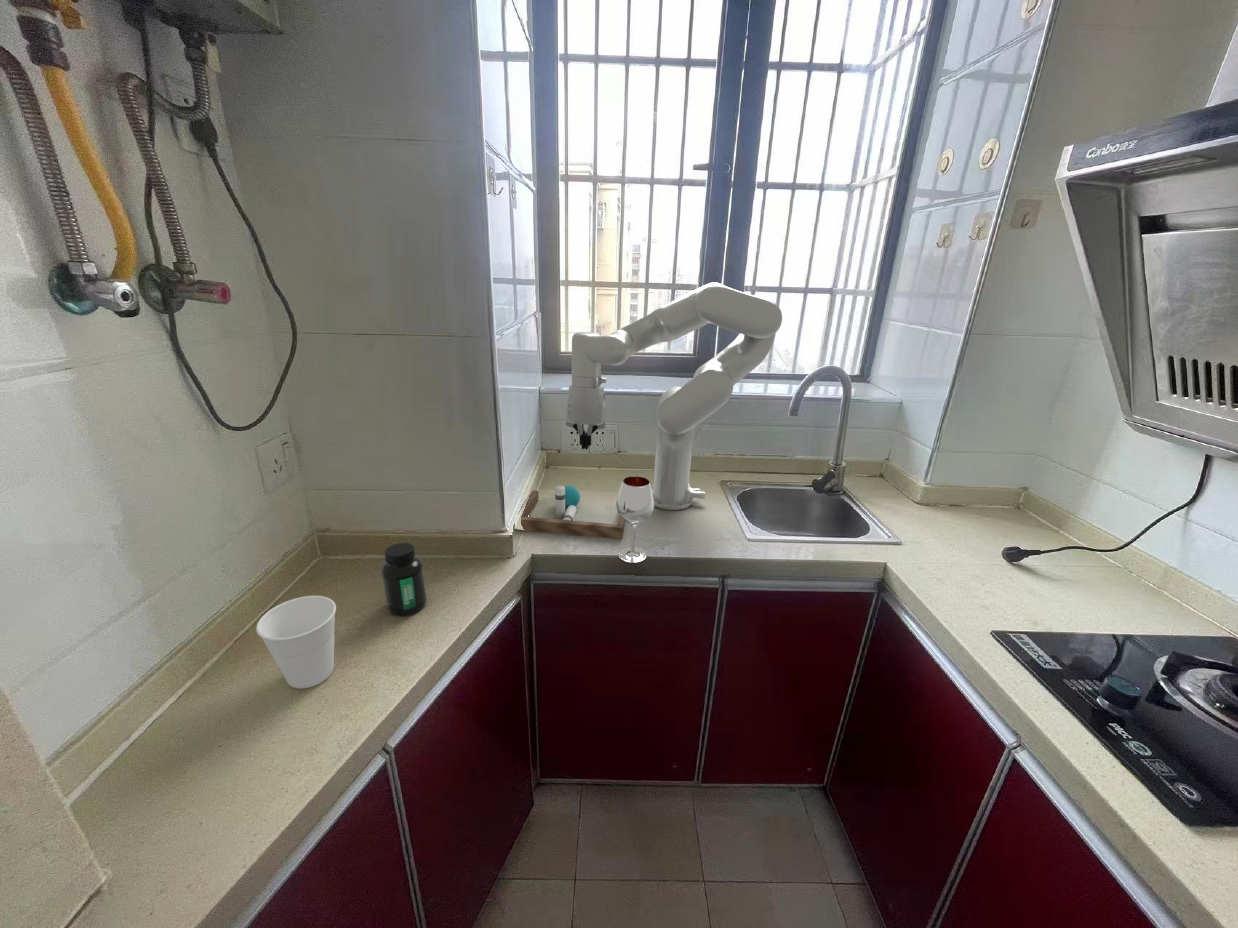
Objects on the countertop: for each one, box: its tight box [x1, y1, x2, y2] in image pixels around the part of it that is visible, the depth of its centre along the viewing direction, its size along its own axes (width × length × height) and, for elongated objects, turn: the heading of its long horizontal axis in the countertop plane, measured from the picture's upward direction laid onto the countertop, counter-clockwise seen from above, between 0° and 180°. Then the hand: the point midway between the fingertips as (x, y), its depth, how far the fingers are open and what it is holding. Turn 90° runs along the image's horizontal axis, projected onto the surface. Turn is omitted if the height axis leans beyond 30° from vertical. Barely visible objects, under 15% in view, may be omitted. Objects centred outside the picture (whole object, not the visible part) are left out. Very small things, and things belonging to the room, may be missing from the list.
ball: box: [563, 485, 581, 509], centre depth 131 cm, size 6×6×6 cm
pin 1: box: [554, 485, 566, 520], centre depth 125 cm, size 2×2×8 cm
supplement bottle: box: [380, 542, 427, 617], centre depth 90 cm, size 7×7×12 cm
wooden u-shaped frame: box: [521, 489, 627, 540], centre depth 126 cm, size 26×17×3 cm, turn 84°
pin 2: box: [562, 505, 577, 521], centre depth 125 cm, size 2×2×8 cm
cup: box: [255, 595, 337, 690], centre depth 74 cm, size 10×10×11 cm
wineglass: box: [615, 475, 655, 564], centre depth 108 cm, size 8×8×18 cm
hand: (585, 447), depth 137 cm, fingers closed
